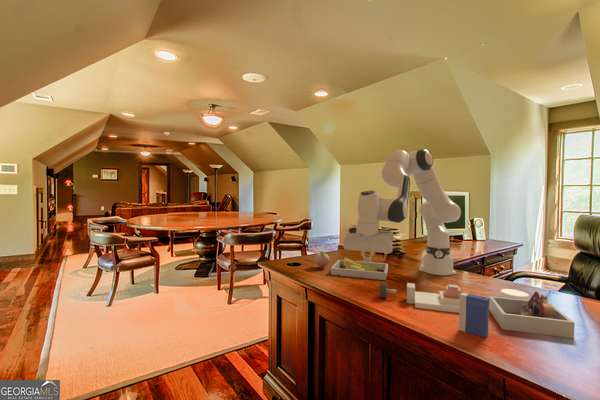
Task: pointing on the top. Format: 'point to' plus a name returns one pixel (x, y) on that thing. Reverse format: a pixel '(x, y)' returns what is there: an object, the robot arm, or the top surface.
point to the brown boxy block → (452, 291)
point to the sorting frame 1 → (359, 273)
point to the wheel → (385, 290)
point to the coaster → (514, 294)
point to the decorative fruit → (322, 259)
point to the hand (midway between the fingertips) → (367, 261)
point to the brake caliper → (538, 307)
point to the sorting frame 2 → (529, 318)
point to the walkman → (474, 314)
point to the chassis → (431, 300)
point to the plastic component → (357, 265)
